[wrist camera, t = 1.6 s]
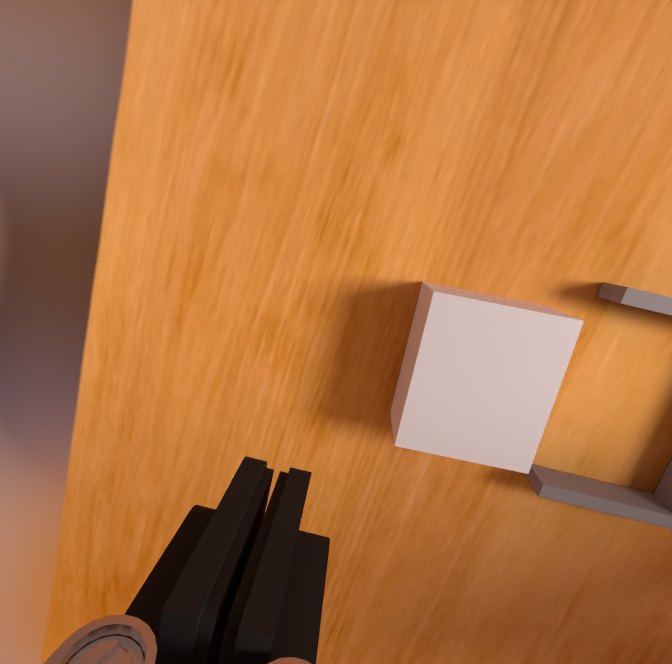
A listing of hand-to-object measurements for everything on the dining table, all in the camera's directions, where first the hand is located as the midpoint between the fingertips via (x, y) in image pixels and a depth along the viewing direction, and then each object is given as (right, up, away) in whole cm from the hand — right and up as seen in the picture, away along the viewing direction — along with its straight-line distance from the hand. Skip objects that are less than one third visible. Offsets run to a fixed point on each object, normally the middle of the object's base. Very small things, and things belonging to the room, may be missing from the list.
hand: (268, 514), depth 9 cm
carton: (+11, +2, +18) cm, 21 cm away
